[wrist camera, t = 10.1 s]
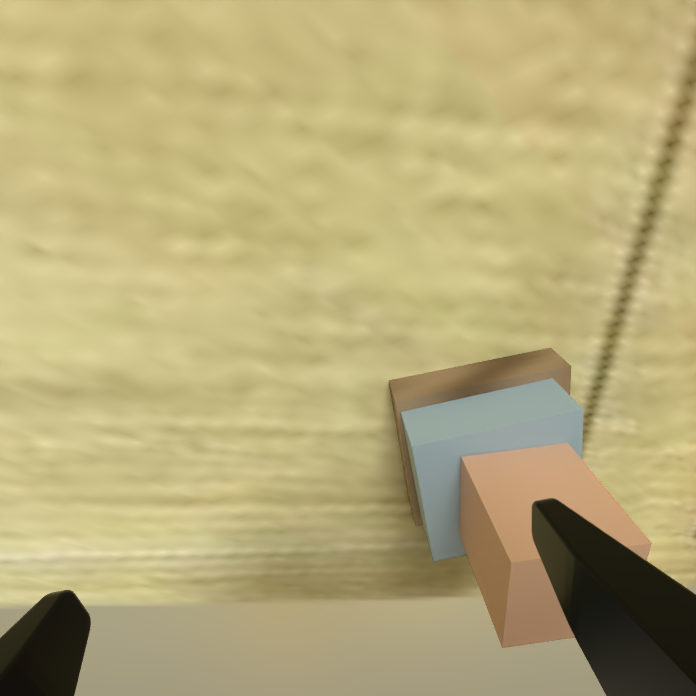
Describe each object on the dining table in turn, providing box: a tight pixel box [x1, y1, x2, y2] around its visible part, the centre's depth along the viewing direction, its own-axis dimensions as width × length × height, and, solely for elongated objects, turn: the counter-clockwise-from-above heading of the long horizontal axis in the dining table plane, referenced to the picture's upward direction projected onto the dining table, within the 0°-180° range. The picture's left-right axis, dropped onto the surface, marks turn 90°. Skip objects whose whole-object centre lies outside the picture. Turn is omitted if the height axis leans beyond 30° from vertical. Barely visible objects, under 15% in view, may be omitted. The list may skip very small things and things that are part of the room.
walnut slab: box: [389, 348, 571, 526], centre depth 23 cm, size 8×8×2 cm
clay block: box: [459, 443, 652, 648], centre depth 17 cm, size 4×4×5 cm
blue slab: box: [401, 378, 583, 562], centre depth 20 cm, size 7×7×2 cm
